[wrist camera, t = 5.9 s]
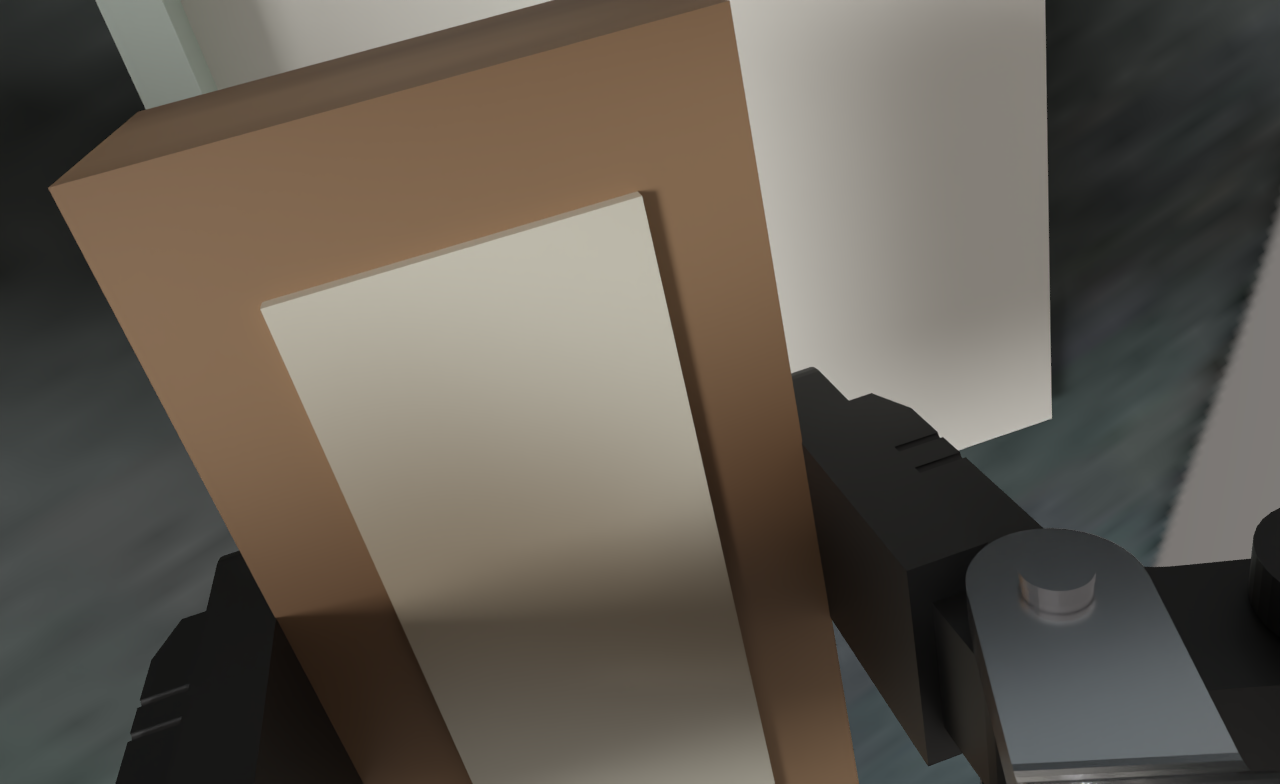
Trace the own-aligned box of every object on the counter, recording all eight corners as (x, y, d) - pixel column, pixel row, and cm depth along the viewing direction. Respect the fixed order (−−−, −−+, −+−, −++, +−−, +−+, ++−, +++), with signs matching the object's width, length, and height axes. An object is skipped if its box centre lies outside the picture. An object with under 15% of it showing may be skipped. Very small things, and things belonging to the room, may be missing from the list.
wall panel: (1026, 399, 28) (1100, 454, 25) (397, 612, 26) (400, 698, 23) (999, -485, 19) (1114, -557, 16) (4, -264, 17) (-72, -301, 14)
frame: (780, 681, 15) (875, 858, 12) (457, 798, 14) (478, 1013, 11) (634, -22, 10) (735, 2, 7) (138, 111, 9) (41, 192, 7)
